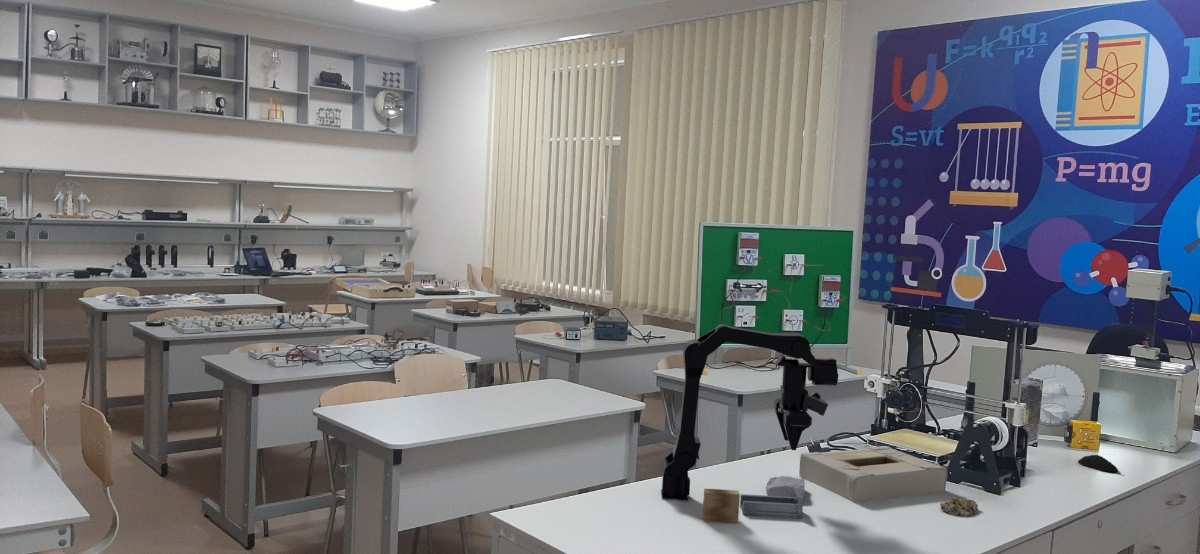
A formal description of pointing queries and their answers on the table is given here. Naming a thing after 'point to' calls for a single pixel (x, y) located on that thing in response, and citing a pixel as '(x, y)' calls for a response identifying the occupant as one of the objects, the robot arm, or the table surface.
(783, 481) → the stone block
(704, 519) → the brown wooden block
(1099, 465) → the black teardrop lump
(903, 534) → the table surface
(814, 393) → the robot arm
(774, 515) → the floor track
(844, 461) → the box
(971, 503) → the mineral rock
